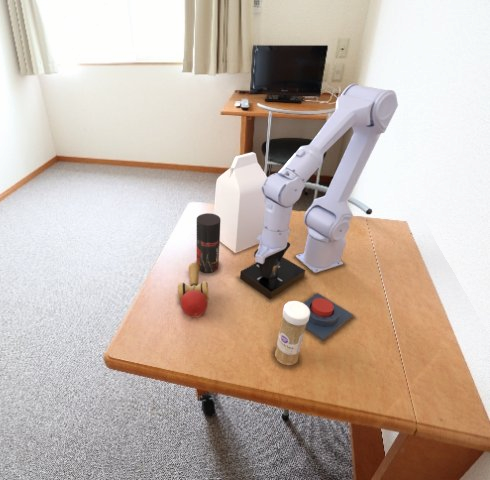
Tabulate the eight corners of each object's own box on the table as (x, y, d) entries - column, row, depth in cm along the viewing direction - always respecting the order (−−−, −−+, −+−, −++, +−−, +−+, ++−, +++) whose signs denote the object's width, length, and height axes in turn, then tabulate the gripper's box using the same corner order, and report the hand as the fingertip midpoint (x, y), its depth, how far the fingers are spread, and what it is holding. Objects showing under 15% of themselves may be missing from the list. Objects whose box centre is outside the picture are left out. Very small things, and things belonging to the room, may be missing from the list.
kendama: (176, 276, 94) (173, 319, 78) (180, 256, 91) (178, 296, 75) (205, 280, 94) (208, 324, 78) (209, 260, 91) (213, 301, 75)
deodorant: (217, 274, 92) (219, 226, 84) (195, 272, 93) (194, 224, 85) (219, 261, 97) (221, 214, 88) (198, 259, 98) (198, 212, 90)
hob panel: (273, 259, 96) (274, 251, 95) (304, 277, 90) (305, 269, 88) (239, 278, 90) (240, 270, 89) (269, 299, 84) (271, 291, 82)
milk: (235, 253, 100) (241, 167, 85) (211, 234, 108) (213, 153, 94) (267, 240, 104) (278, 156, 90) (242, 223, 113) (248, 144, 98)
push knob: (318, 300, 80) (320, 295, 79) (336, 311, 77) (337, 306, 76) (306, 308, 78) (308, 303, 77) (324, 320, 75) (325, 315, 74)
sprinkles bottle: (270, 358, 70) (279, 310, 62) (280, 344, 73) (290, 296, 65) (292, 370, 67) (304, 322, 60) (302, 355, 70) (314, 307, 63)
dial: (268, 265, 90) (269, 253, 88) (280, 273, 87) (282, 261, 85) (257, 272, 88) (259, 259, 86) (269, 280, 86) (271, 267, 83)
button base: (317, 295, 84) (319, 287, 83) (352, 317, 78) (355, 309, 77) (287, 316, 79) (289, 308, 78) (322, 341, 73) (325, 333, 71)
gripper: (273, 207, 87) (267, 252, 94) (244, 233, 78) (240, 280, 85) (301, 216, 83) (292, 261, 91) (274, 244, 74) (267, 292, 81)
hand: (269, 271), depth 88 cm, fingers closed on dial, 4 cm apart
